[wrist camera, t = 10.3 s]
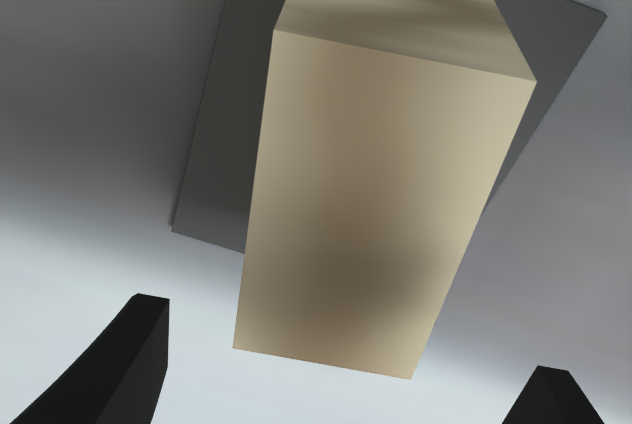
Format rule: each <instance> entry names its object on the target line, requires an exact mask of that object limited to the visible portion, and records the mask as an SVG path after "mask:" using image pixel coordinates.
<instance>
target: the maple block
mask: <svg viewBox="0 0 632 424" xmlns="http://www.w3.org/2000/svg"><path fill="white" fill-rule="evenodd" d="M536 83H537V81H536V79H535V77H534V75H533V73H532V71H531V69H530V67H529V65H528V64H527V62H526V60H525V58H524V56H523V54H522V52H521V50H520V49H519V47H518V45H517V43H516V41H515V39H514V37H513V35H512V33H511V32H510V30H509V28H508V26H507V24H506V22H505V20H504V18H503V16H502V15H501V13H500V11H499V9H498V7H497V5H496V3H495V1H494V0H286V1H285V3H284V6H283V8H282V11H281V13H280V15H279V18H278V20H277V23H276V25H275V28H274V31H273V39H272V47H271V54H270V62H269V70H268V77H267V85H266V93H265V101H264V108H263V116H262V124H261V132H260V139H259V147H258V155H257V163H256V170H255V178H254V186H253V194H252V201H251V209H250V217H249V225H248V232H247V240H246V248H245V256H244V263H243V271H242V279H241V286H240V294H239V302H238V310H237V317H236V325H235V333H234V341H233V348H234V349H240V350H246V351H251V352H257V353H263V354H268V355H274V356H279V357H285V358H291V359H296V360H302V361H308V362H313V363H319V364H325V365H330V366H336V367H341V368H347V369H353V370H358V371H364V372H370V373H375V374H381V375H387V376H392V377H398V378H403V379H409V380H411V378H412V376H413V373H414V371H415V369H416V366H417V364H418V361H419V359H420V357H421V354H422V352H423V350H424V347H425V345H426V343H427V340H428V338H429V335H430V333H431V331H432V328H433V326H434V324H435V321H436V319H437V317H438V314H439V312H440V310H441V307H442V305H443V302H444V300H445V298H446V295H447V293H448V291H449V288H450V286H451V284H452V281H453V279H454V276H455V274H456V272H457V269H458V267H459V265H460V262H461V260H462V258H463V255H464V253H465V251H466V248H467V246H468V243H469V241H470V239H471V236H472V234H473V232H474V229H475V227H476V225H477V222H478V220H479V217H480V215H481V213H482V210H483V208H484V206H485V203H486V201H487V199H488V196H489V194H490V192H491V189H492V187H493V184H494V182H495V180H496V177H497V175H498V173H499V170H500V168H501V166H502V163H503V161H504V158H505V156H506V154H507V151H508V149H509V147H510V144H511V142H512V140H513V137H514V135H515V133H516V130H517V128H518V125H519V123H520V121H521V118H522V116H523V114H524V111H525V109H526V107H527V104H528V102H529V100H530V97H531V95H532V92H533V90H534V88H535V85H536Z"/></svg>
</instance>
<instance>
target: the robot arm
mask: <svg viewBox="0 0 632 424" xmlns="http://www.w3.org/2000/svg"><path fill="white" fill-rule="evenodd" d="M169 301H170V299H167V298H161V297H156V296H150V295H145V294H139V293H137V294H136V295H134V296H132V297H131V298H130V300H129V301H128V302H127V303H126V305H125V306H124V307H123V308H122V310H121V311H120V312H119V313H118V314H117V316H116V317H115V318H114V319H113V320H112V321H111V323H110V324H109V325H108V326H107V327H106V328H105V329H104V331H103V332H102V333H101V334H100V335H99V336H98V337H97V338H96V339H95V340H94V342H93V343H92V344H91V345H90V346H89V347H88V348H87V349H86V350H85V351H84V352H83V353H82V354H81V355H80V356H79V357H78V358H77V359H76V361H75V362H74V363H73V364H72V365H71V366H70V367H69V368H68V369H67V370H66V371H65V372H64V373H63V374H62V375H61V376H60V377H59V378H58V379H57V380H56V381H55V382H54V383H53V384H52V385H51V386H50V387H49V388H48V389H47V390H46V391H45V392H43V393H42V394H41V395H40V396H39V397H38V398H37V399H36V400H35V401H34V402H33V403H32V404H31V405H29V406H28V407H27V408H26V409H25V410H24V411H23V412H22V413H21V414H20V415H19V416H18V417H17V418H16V419H14V420H13V421H12V422H11V423H10V424H150V423H151V420H152V418H153V415H154V412H155V408H156V405H157V402H158V398H159V395H160V392H161V388H162V385H163V381H164V378H165V375H166V371H167V368H168V336H169ZM502 424H604V422H603V421H602V419H601V418H600V416H599V415H598V413H597V412H596V410H595V409H594V408H593V406H592V405H591V403H590V402H589V400H588V399H587V397H586V396H585V394H584V393H583V391H582V390H581V388H580V387H579V385H578V384H577V383H576V381H575V380H574V378H573V377H572V375H571V374H570V373H569V371H566V370H561V369H555V368H550V367H544V366H539V365H538V366H537V367H536V369H535V371H534V372H533V374H532V375H531V377H530V379H529V380H528V382H527V384H526V385H525V387H524V388H523V390H522V392H521V393H520V395H519V397H518V398H517V400H516V401H515V403H514V405H513V406H512V408H511V410H510V411H509V413H508V414H507V416H506V418H505V419H504V421H503V423H502Z"/></svg>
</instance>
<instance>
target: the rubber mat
mask: <svg viewBox="0 0 632 424" xmlns="http://www.w3.org/2000/svg"><path fill="white" fill-rule="evenodd" d="M285 1H286V0H225V4H224V9H223V13H222V17H221V21H220V26H219V30H218V34H217V39H216V43H215V47H214V51H213V56H212V60H211V64H210V69H209V73H208V77H207V81H206V86H205V90H204V94H203V98H202V103H201V107H200V111H199V116H198V120H197V124H196V128H195V133H194V137H193V141H192V145H191V150H190V154H189V158H188V163H187V167H186V171H185V175H184V180H183V184H182V188H181V193H180V197H179V201H178V205H177V210H176V214H175V218H174V222H173V227H172V232H175V233H178V234H182V235H185V236H188V237H191V238H195V239H198V240H201V241H205V242H208V243H211V244H215V245H218V246H221V247H225V248H228V249H231V250H234V251H238V252H241V253H244V254H245V248H246V240H247V232H248V225H249V217H250V209H251V201H252V194H253V186H254V178H255V170H256V163H257V155H258V147H259V139H260V132H261V124H262V116H263V108H264V101H265V93H266V85H267V77H268V70H269V62H270V54H271V47H272V39H273V31H274V28H275V25H276V23H277V20H278V18H279V15H280V13H281V11H282V8H283V6H284V3H285ZM494 1H495V3H496V5H497V7H498V9H499V11H500V13H501V15H502V16H503V18H504V20H505V22H506V24H507V26H508V28H509V30H510V32H511V33H512V35H513V37H514V39H515V41H516V43H517V45H518V47H519V49H520V50H521V52H522V54H523V56H524V58H525V60H526V62H527V64H528V65H529V67H530V69H531V71H532V73H533V75H534V77H535V79H536V81H537V83H536V85H535V88H534V90H533V92H532V95H531V97H530V100H529V102H528V104H527V107H526V109H525V111H524V114H523V116H522V118H521V121H520V123H519V125H518V128H517V130H516V133H515V135H514V137H513V140H512V142H511V144H510V147H509V149H508V151H507V154H506V156H505V158H504V161H503V163H502V166H501V168H500V170H499V173H498V175H497V177H496V180H495V182H494V184H493V187H492V189H491V192H490V194H489V196H488V199H487V201H486V203H485V206H484V208H483V210H482V213H483V211H484V210H485V208H486V207H487V205H488V204H489V202H490V200H491V199H492V197H493V196H494V194H495V193H496V191H497V189H498V188H499V186H500V185H501V183H502V182H503V180H504V178H505V177H506V175H507V174H508V172H509V171H510V169H511V167H512V166H513V164H514V163H515V161H516V159H517V158H518V156H519V155H520V153H521V152H522V150H523V148H524V147H525V145H526V144H527V142H528V141H529V139H530V137H531V136H532V134H533V133H534V131H535V130H536V128H537V126H538V125H539V123H540V122H541V120H542V119H543V117H544V115H545V114H546V112H547V111H548V109H549V108H550V106H551V104H552V103H553V101H554V100H555V98H556V97H557V95H558V93H559V92H560V90H561V89H562V87H563V85H564V84H565V82H566V81H567V79H568V78H569V76H570V74H571V73H572V71H573V70H574V68H575V67H576V65H577V63H578V62H579V60H580V59H581V57H582V56H583V54H584V52H585V51H586V49H587V48H588V46H589V45H590V43H591V41H592V40H593V38H594V37H595V35H596V34H597V32H598V30H599V29H600V27H601V26H602V24H603V22H604V21H605V19H606V18H607V15H606V14H605V13H604V12H601V11H598V10H596V9H593V8H591V7H588V6H585V5H583V4H580V3H578V2H575V1H572V0H494ZM482 213H481V215H482ZM481 215H480V216H481ZM479 218H480V217H479Z"/></svg>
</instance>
